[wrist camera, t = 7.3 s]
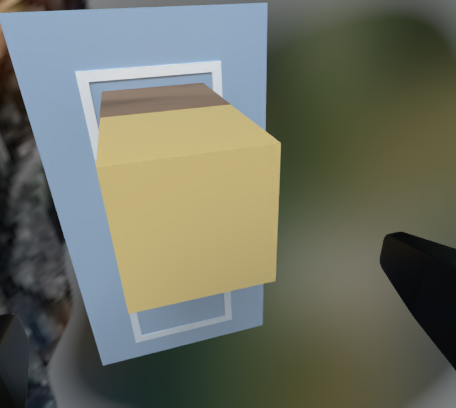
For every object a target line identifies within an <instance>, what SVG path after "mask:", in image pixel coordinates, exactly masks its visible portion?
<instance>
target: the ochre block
mask: <svg viewBox="0 0 456 408" xmlns="http://www.w3.org/2000/svg"><path fill="white" fill-rule="evenodd" d="M280 154H281V143H280V142H279V141H278V140H276V139H275V138H274V137H272V136H271V135H270V134H268V133H267V132H266V131H265V130H263V129H262V128H261V127H259V126H258V125H257V124H255V123H254V122H253V121H251V120H250V119H249V118H248V117H246V116H245V115H244V114H242V113H241V112H240V111H238V110H237V109H236V108H235V107H233V106H232V105H221V106H211V107H201V108H191V109H181V110H171V111H162V112H152V113H142V114H132V115H122V116H112V117H102V118H100V124H99V136H98V148H97V160H96V170H97V175H98V179H99V184H100V188H101V193H102V197H103V202H104V206H105V211H106V215H107V220H108V224H109V229H110V233H111V238H112V242H113V247H114V251H115V256H116V260H117V265H118V269H119V274H120V278H121V283H122V287H123V292H124V296H125V301H126V305H127V310H128V314H131V313H135V312H140V311H144V310H149V309H153V308H158V307H162V306H167V305H171V304H176V303H180V302H184V301H189V300H193V299H198V298H202V297H207V296H211V295H216V294H220V293H225V292H229V291H233V290H238V289H242V288H247V287H251V286H256V285H260V284H264V283H269V282H274V281H276V258H277V257H276V256H277V233H278V207H279V181H280Z"/></svg>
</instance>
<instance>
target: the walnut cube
mask: <svg viewBox="0 0 456 408" xmlns="http://www.w3.org/2000/svg"><path fill="white" fill-rule="evenodd" d="M221 105H230V103H229V102H227V101H226V100H225V99H223V98H222V97H221V96H220V95H218V94H217V93H216V92H214V91H213V90H212V89H210V88H209V87H208V86H206V85H205V84H204V83H194V84H182V85H171V86H160V87H148V88H137V89H126V90H114V91H103V92H102V95H101V106H100V118H102V117H112V116H122V115H132V114H142V113H152V112H162V111H171V110H181V109H191V108H201V107H211V106H221Z"/></svg>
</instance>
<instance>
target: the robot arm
mask: <svg viewBox="0 0 456 408" xmlns="http://www.w3.org/2000/svg"><path fill="white" fill-rule="evenodd" d="M380 264H381V267H382V269H383V271H384V272H385V274H386V275H387V277H388V278H389V280H390V281H391V283H392V284H393V286H394V288H395V289H396V291H397V292H398V294H399V296H400V297H401V299H402V300H403V302H404V303H405V305H406V306H407V308H408V309H409V311H410V312H411V314H412V315H413V317H414V318H415V319H416V320H417V322H418V323H419V324H420V326H421V327H422V328H423V330H424V331H425V332H426V333H427V335H428V336H429V337H430V338H431V340H432V341H433V342H434V343H435V345H436V346H437V347H438V349H439V350H440V351H441V352H442V354H443V355H444V356H445V357H446V359H447V360H448V361H449V363H450V364H451V365H452V366H453V368H454V369H455V370H456V249H455V248H451V247H448V246H445V245H442V244H439V243H436V242H433V241H430V240H426V239H423V238H420V237H417V236H414V235H410V234H408V233H404V232H395V233H390V234H387V235H386V236H385V237H384V240H383V245H382V250H381V255H380ZM29 354H30V345H29V340H28V337H27V335H26V332H25V330H24V328H23V325H22V323H21V321H20V318H19V316H18V315H17V314H15V313H9V314H4V315H0V408H25V406H26V393H27V380H28V367H29Z"/></svg>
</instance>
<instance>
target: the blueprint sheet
mask: <svg viewBox="0 0 456 408" xmlns="http://www.w3.org/2000/svg"><path fill="white" fill-rule="evenodd" d="M0 23H1V27H2V30H3V33H4V37H5V40H6V43H7V47H8V50H9V53H10V57H11V60H12V64H13V67H14V70H15V74H16V77H17V80H18V84H19V87H20V90H21V94H22V97H23V100H24V104H25V107H26V110H27V114H28V117H29V120H30V124H31V127H32V130H33V134H34V137H35V140H36V144H37V147H38V150H39V154H40V157H41V160H42V164H43V167H44V170H45V174H46V177H47V180H48V184H49V187H50V190H51V194H52V197H53V200H54V204H55V207H56V210H57V214H58V217H59V220H60V224H61V227H62V230H63V234H64V237H65V241H66V244H67V247H68V251H69V254H70V257H71V261H72V264H73V267H74V271H75V274H76V277H77V281H78V284H79V287H80V291H81V294H82V297H83V301H84V304H85V307H86V311H87V314H88V317H89V321H90V324H91V327H92V330H93V334H94V337H95V341H96V344H97V347H98V351H99V354H100V357H101V361H102V364H103V366H104V365H107V364H111V363H115V362H119V361H123V360H127V359H131V358H135V357H139V356H143V355H146V354H151V353H155V352H159V351H163V350H166V349H170V348H174V347H178V346H182V345H186V344H190V343H194V342H198V341H202V340H206V339H210V338H213V337H218V336H221V335H226V334H229V333H233V332H237V331H241V330H245V329H249V328H253V327H257V326H261V325H263V284H260V285H256V286H251V287H247V288H242V289H238V290H233V291H229V292H225V293H220V294H216V295H211V296H207V297H202V298H198V299H193V300H189V301H184V302H180V303H176V304H171V305H167V306H162V307H158V308H153V309H149V310H144V311H140V312H135V313H131V314H128V310H127V305H126V301H125V296H124V292H123V287H122V283H121V278H120V274H119V269H118V265H117V260H116V256H115V251H114V247H113V242H112V238H111V233H110V229H109V224H108V220H107V215H106V211H105V206H104V202H103V197H102V193H101V188H100V184H99V179H98V175H97V170H96V160H97V148H98V136H99V124H100V106H101V95H102V92H103V91H114V90H126V89H137V88H148V87H160V86H171V85H182V84H194V83H204V84H205V85H206V86H208V87H209V88H210V89H212V90H213V91H214V92H216V93H217V94H218V95H220V96H221V97H222V98H223V99H225V100H226V101H227V102H229V103H230V105H232V106H233V107H235V108H236V109H237V110H238V111H240V112H241V113H242V114H244V115H245V116H246V117H248V118H249V119H250V120H251V121H253V122H254V123H255V124H257V125H258V126H259V127H261V128H262V129H263V130H265V131H266V67H267V65H266V64H267V3H247V4H223V5H222V4H221V5H195V6H169V7H145V8H144V7H143V8H118V9H92V10H66V11H40V12H14V13H0Z"/></svg>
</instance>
